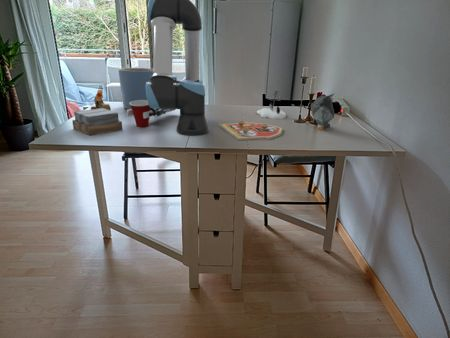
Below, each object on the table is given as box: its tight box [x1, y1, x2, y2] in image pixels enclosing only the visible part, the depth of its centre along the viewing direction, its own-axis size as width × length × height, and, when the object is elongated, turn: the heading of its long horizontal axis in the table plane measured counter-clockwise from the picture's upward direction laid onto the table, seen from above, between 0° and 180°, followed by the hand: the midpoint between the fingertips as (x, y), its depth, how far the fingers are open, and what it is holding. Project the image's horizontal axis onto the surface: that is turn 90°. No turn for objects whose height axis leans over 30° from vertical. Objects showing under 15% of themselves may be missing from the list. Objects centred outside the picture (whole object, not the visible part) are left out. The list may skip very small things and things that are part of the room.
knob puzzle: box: [218, 120, 283, 141], centre depth 151 cm, size 29×30×4 cm
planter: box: [117, 67, 153, 110], centre depth 191 cm, size 23×23×24 cm
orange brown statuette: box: [90, 89, 112, 111], centre depth 165 cm, size 8×21×14 cm, turn 39°
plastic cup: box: [129, 100, 151, 128], centre depth 150 cm, size 11×11×12 cm
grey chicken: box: [310, 93, 336, 131], centre depth 158 cm, size 14×15×18 cm
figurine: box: [256, 89, 287, 120], centre depth 185 cm, size 20×18×16 cm
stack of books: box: [71, 108, 124, 137], centre depth 142 cm, size 16×16×8 cm
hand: (135, 114), depth 146 cm, fingers closed on plastic cup, 9 cm apart
